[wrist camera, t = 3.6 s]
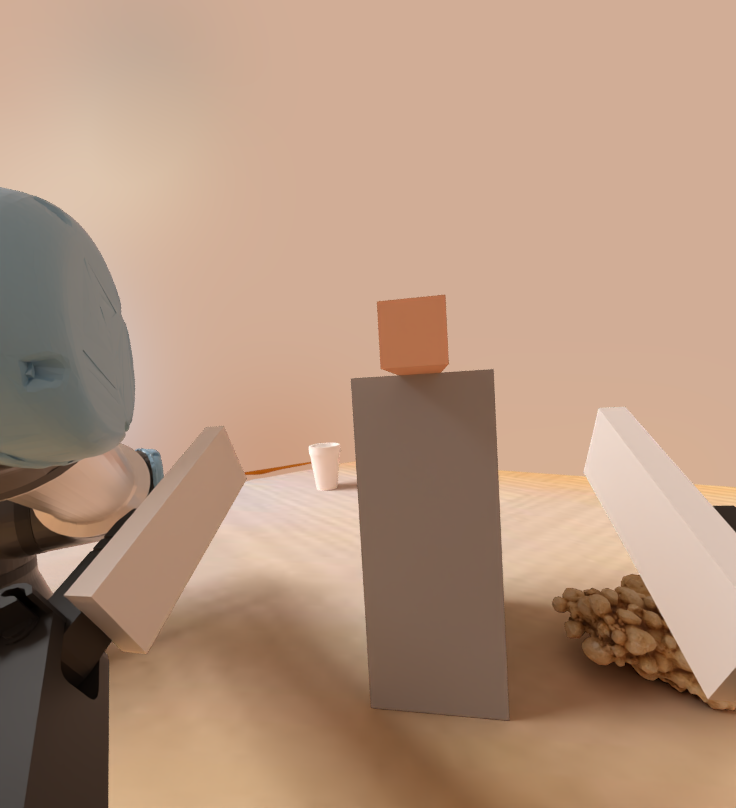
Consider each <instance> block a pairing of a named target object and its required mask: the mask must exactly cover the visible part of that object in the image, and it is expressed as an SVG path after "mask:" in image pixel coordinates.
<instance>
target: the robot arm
mask: <svg viewBox="0 0 736 808" xmlns="http://www.w3.org/2000/svg"><path fill="white" fill-rule="evenodd" d="M134 396H135V379H134V370H133V358H132V351H131V345H130V339H129V334H128V331H127V327H126V324H125V322H124V320H123V318H122V315H121V303H120V299H119V296H118V293H117V290H116V287H115V284H114V282H113V279H112V277H111V274H110V272H109V270H108V268H107V265H106V263H105V261H104V259H103V257H102V255H101V253H100V251H99V250H98V248H97V247H96V245H95V243H94V242H93V241H92V239H91V238H90V236H89V235H88V234H87V233H86V231H85V230H84V229H83V228H82V227H81V226H80V225H79V224H78V223H77V222H76V221H75V220H74V219H73V218H72V217H71V216H69V215H68V214H67V213H65V212H64V211H63V210H61V209H60V208H58V207H57V206H55V205H53V204H52V203H50V202H48V201H46V200H44V199H41V198H39V197H36V196H33V195H29V194H27V193H24V192H20V191H16V190H11V189H6V188H1V187H0V808H108V753H109V659H108V656H107V654H106V653H105V650H106V649H107V647H108V646H109V644H110V643H111V641H112V642H113V643H114V644H115V645H116V646H117V647H118V648H119V649H120V650H121V651H122V652H131V653H143V654H147V653H148V651H149V650H150V648H151V646H152V644H153V643H154V641H155V639H156V637H157V636H158V634H159V632H160V630H161V629H162V627H163V625H164V623H165V622H166V620H167V618H168V616H169V615H170V613H171V611H172V609H173V607H174V606H175V604H176V602H177V600H178V599H179V597H180V595H181V593H182V592H183V590H184V588H185V586H186V585H187V583H188V581H189V579H190V578H191V576H192V574H193V572H194V571H195V569H196V567H197V565H198V564H199V562H200V560H201V558H202V557H203V555H204V553H205V551H206V550H207V548H208V546H209V544H210V543H211V541H212V539H213V537H214V536H215V534H216V532H217V530H218V529H219V527H220V525H221V523H222V521H223V520H224V518H225V516H226V514H227V513H228V511H229V509H230V507H231V506H232V504H233V502H234V500H235V499H236V497H237V495H238V493H239V492H240V490H241V488H242V486H243V485H244V483H245V481H246V479H247V478H246V475H245V473H244V471H243V469H242V466H241V464H240V462H239V459H238V457H237V455H236V453H235V450H234V448H233V446H232V444H231V441H230V439H229V437H228V434H227V432H226V430H225V428H224V426H219V427H206V428H205V429H204V430H203V432H202V433H201V434H200V435H199V436H198V437H197V438H196V440H195V441H194V442H193V443H192V445H191V446H190V447H189V448H188V449H187V450H186V451H185V453H184V454H183V455H182V456H181V457H180V458H179V460H178V461H177V462H176V463H175V464H174V466H173V467H172V468H171V469H170V470H169V472H168V473H167V474H166V475H165V476H164V475H163V466H162V460H161V456H160V453H159V452H158V451H157V450H154V449H143V448H142V449H137V450H133V449H132V448H130V447H128V446H126V445H124V444H121V441H122V440H123V439H124V437H125V432H126V431H128V429H129V425H130V423H131V421H132V416H133V410H134V398H135V397H134ZM584 474H585V476H586V478H587V479H588V481H589V483H590V485H591V487H592V489H593V490H594V492H595V494H596V496H597V498H598V500H599V501H600V503H601V505H602V507H603V509H604V511H605V512H606V514H607V516H608V518H609V520H610V521H611V523H612V525H613V527H614V529H615V531H616V532H617V534H618V536H619V538H620V540H621V542H622V543H623V545H624V547H625V549H626V551H627V553H628V554H629V556H630V558H631V560H632V562H633V564H634V565H635V567H636V569H637V571H638V573H639V574H640V576H641V578H642V580H643V582H644V584H645V585H646V587H647V589H648V591H649V593H650V595H651V596H652V598H653V600H654V602H655V604H656V606H657V607H658V609H659V611H660V613H661V615H662V617H663V618H664V620H665V622H666V624H667V626H668V627H669V629H670V631H671V633H672V635H673V637H674V638H675V640H676V642H677V644H678V646H679V648H680V649H681V651H682V653H683V655H684V657H685V659H686V660H687V662H688V664H689V666H690V668H691V670H692V671H693V673H694V675H695V677H696V679H697V680H698V682H699V684H700V686H701V688H702V690H703V691H704V693H705V695H706V697H707V699H708V700H721V701H733V702H736V507H735V506H712V505H711V504H710V503H709V502H708V500H707V499H706V498H705V497H704V496H703V495H702V494H701V492H700V491H699V490H698V489H697V488H696V487H695V486H694V484H693V483H692V482H691V481H690V480H689V479H688V478H687V477H686V475H685V474H684V473H683V472H682V471H681V470H680V469H679V467H678V466H677V465H676V464H675V463H674V462H673V461H672V459H671V458H670V457H669V456H668V455H667V454H666V453H665V451H664V450H663V449H662V448H661V447H660V446H659V445H658V444H657V443H656V441H655V440H654V439H653V438H652V437H651V436H650V434H649V433H648V432H647V431H646V430H645V429H644V428H643V427H642V425H641V424H640V423H639V422H638V421H637V420H636V419H635V417H634V416H633V415H632V414H631V413H630V412H629V411H628V409H627V408H626V407H613V408H599V409H598V412H597V417H596V421H595V425H594V430H593V434H592V438H591V443H590V447H589V451H588V455H587V460H586V464H585V468H584ZM98 541H99V542H98ZM93 542H98V543H97V545H96V546H95V547H94V548H93V549H94V550H93V551H91V552H90V553H89V554H88V555H87V556H86V557H85V558H84V560H83V561H82V562H81V563H80V564H79V565H78V566H77V568H76V569H75V570H74V571H73V572H72V573H71V574H70V576H69V577H68V578H67V579H66V580H65V581H64V582H63V584H62V585H61V586H60V587H59V588H58V589H57V590H56V592H55V593H54V594H53V593H52V591H51V590H50V588H49V586H48V585H47V583H46V582H45V580H44V578H43V577H42V575H41V574H40V572H39V570H38V565H37V556H36V554H40V553H45V552H48V551H53V550H58V549H63V548H68V547H73V546H78V545H83V544H88V543H93Z"/></svg>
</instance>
